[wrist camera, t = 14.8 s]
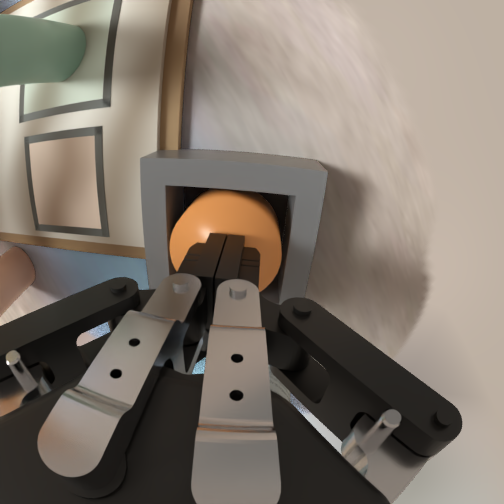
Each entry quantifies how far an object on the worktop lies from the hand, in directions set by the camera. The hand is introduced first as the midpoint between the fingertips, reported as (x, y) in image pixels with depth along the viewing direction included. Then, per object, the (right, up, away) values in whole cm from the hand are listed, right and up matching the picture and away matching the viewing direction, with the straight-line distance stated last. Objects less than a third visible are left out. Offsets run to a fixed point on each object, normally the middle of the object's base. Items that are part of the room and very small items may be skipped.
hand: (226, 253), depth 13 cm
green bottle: (-9, +11, -2) cm, 15 cm away
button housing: (0, +2, +3) cm, 4 cm away
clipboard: (-12, +9, 0) cm, 15 cm away
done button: (0, +1, +2) cm, 3 cm away
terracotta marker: (-18, -1, +6) cm, 19 cm away
